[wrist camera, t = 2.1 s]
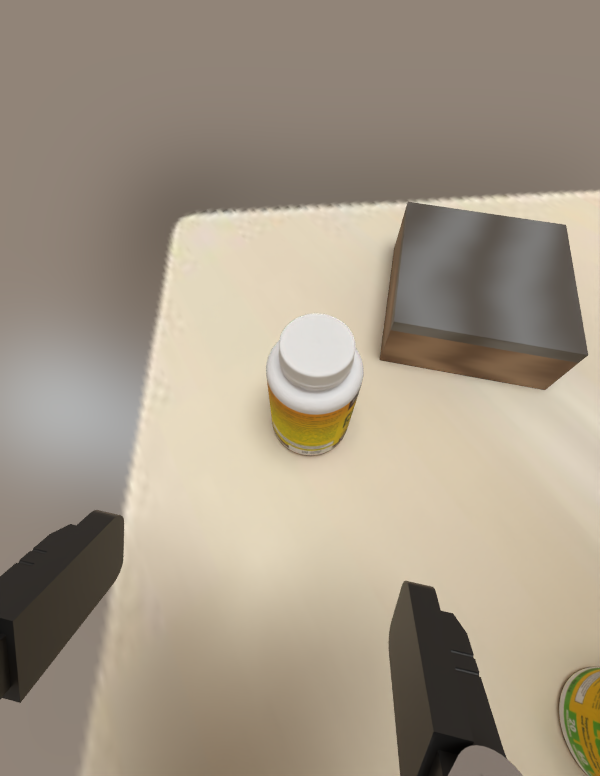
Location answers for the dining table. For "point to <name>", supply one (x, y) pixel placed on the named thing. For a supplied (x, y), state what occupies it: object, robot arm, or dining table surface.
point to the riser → (483, 297)
